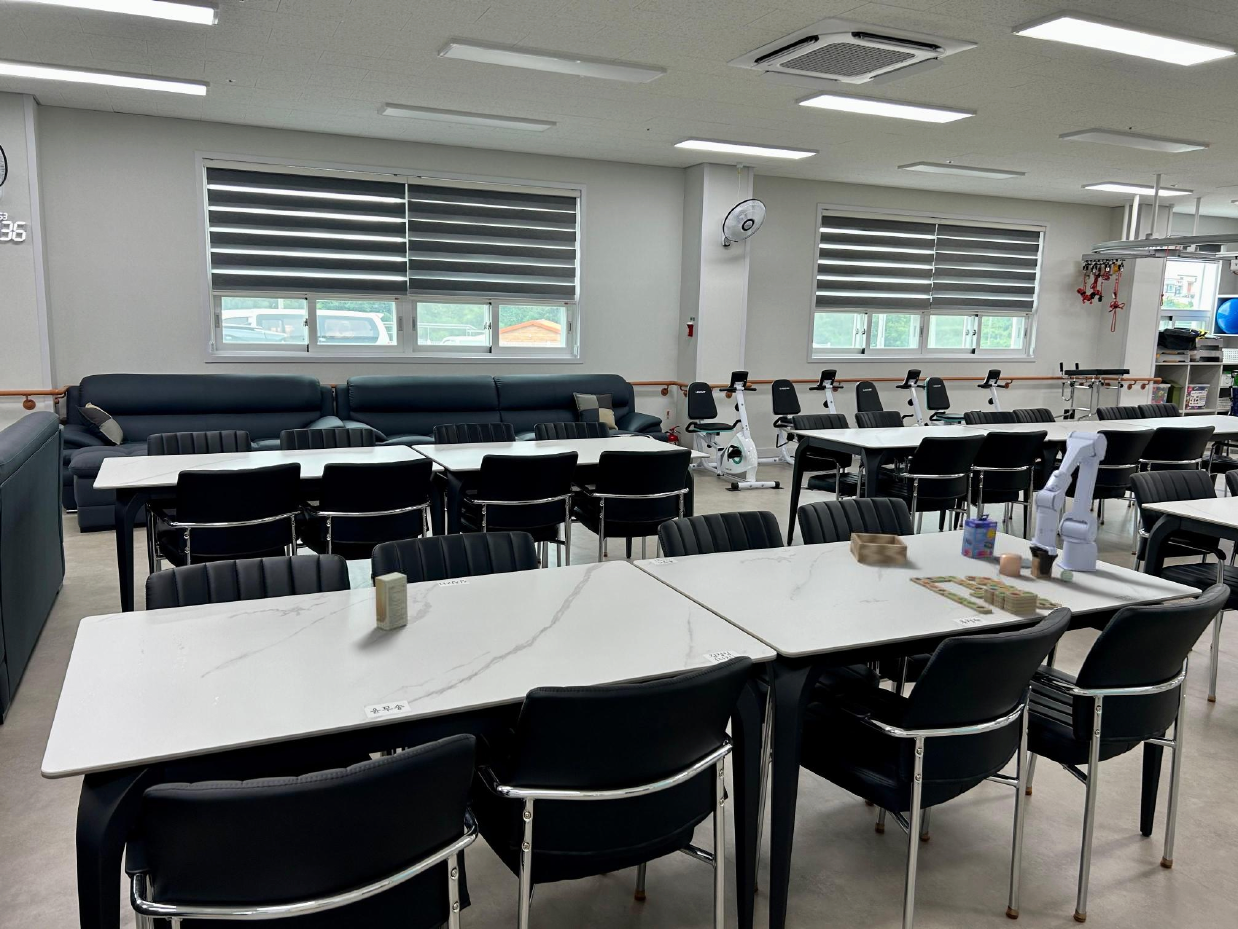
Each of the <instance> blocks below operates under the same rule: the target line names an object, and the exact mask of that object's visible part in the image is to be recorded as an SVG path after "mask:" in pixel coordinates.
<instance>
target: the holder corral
mask: <svg viewBox="0 0 1238 929" xmlns="http://www.w3.org/2000/svg"><path fill="white" fill-rule="evenodd" d="M849 547H850V548H849V551H850V552H851V554H852V555H853V557H854V558H855V560H856V561H857V563H866V564H867V563H869V564H887V565H905V566H906V565H907V556H908V554H907V553H908V545H907V544H906V543H905V542H904V541H903V540H902V539H901V538H900V536H898V535H897V534H895V535H893V534H877V533H876V534H875V533H857V532H851V536H850V546H849Z"/></svg>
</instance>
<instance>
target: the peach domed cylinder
mask: <svg viewBox="0 0 1238 929" xmlns="http://www.w3.org/2000/svg"><path fill="white" fill-rule="evenodd" d="M1000 557H1001V558H1000V563H999V570H998V573H999V574H1000V575H1002V576H1005V577H1011V578H1014V577H1015V578H1018V577H1020V576H1021V570H1022V568H1021V562H1022V558H1023V556H1022V555H1021V554H1017V553H1011V552H1002V553H1000Z"/></svg>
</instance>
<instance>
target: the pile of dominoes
mask: <svg viewBox="0 0 1238 929" xmlns="http://www.w3.org/2000/svg"><path fill="white" fill-rule="evenodd" d="M908 581H910V582H912V583H914V584H917V585H919V586H921V587H923V588H925V589H927V590H929V591H931V592H933V593H936V594H937V595H939V596H943V597H944V598H946V599H948V600H951V601H952V602H954V603H957V604H959V605H962V607H963V606H964V607H965V608H968V609H970V610H972V611H974V612H976V613H978V614H992V613H993V609H992V608H990V607H988V606H985V605H984V604H981V603H979V602H976V601H974V600H973V601H972V600H971V599H969V598H967V597H964V596H962V595H960V594H958V593H956V592H953V591H950V590H949V589H946V588H944V587H942V586H940V585H936V584H935V583H946V582H948V583H949V582H952V583H954V584H956V585H958V586H962V587H963V588H966V589H968V590H971V592H969V593H968V595H969V596H970V597H972V598H975V599H983V601H982V602H984V603H986V604H989V605H991V606H993V607H994V608H997V609H1000V610H1002V611H1004V612H1006V613H1008V614H1010V615H1026V614H1036V613H1037V610H1053V609H1054V608H1058V607H1062V606H1064V605H1063V604H1061V603H1058V602H1052V601H1051V600H1050V599H1048V598H1045V597H1044V598H1043V597H1040V596H1039V595H1038V594H1037V593H1035V592H1033V591H1029V590H1025V589H1018V587H1017V586H1015V585H1010V584H1006V583H1004V581H1001V580H995V579H994V578H992V577H990V576H978V575H977V576H976V575H964V579H963V578H961V577H958V576H956V575H945V576H941V575H940V576H937V575H936V576H922V577H919V576H915V577H914V576H913V577H909V580H908ZM973 582H974V583H973ZM983 586H985V587H983Z"/></svg>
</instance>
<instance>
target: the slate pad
mask: <svg viewBox="0 0 1238 929" xmlns="http://www.w3.org/2000/svg"><path fill="white" fill-rule="evenodd" d="M1000 558H1001V556H997V555H995V556H994V555H993V559H994V560H995V561H996V562H998V563H999V564H1000ZM1031 565H1032V559H1031V558H1029V557H1028V558H1027V557H1022V562H1021V569H1031Z"/></svg>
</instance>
